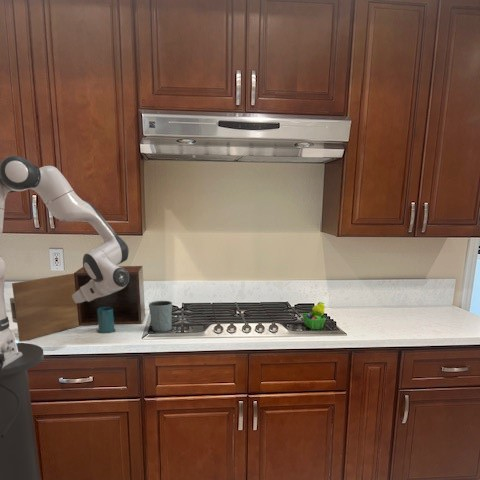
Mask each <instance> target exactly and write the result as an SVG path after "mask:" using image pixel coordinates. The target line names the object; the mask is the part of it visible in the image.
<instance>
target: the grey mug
mask: <svg viewBox="0 0 480 480" xmlns="http://www.w3.org/2000/svg"><path fill="white" fill-rule="evenodd" d="M148 308H149V314H150V322H151V330H152V332H156V333H157V332H158V333H166V332H170V331H171V330H172V329H173V322H172V320H173V314H172V313H173V302H172V301H170V300H155V301H151V302H149V303H148Z"/></svg>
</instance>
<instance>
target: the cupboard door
mask: <svg viewBox="0 0 480 480" xmlns="http://www.w3.org/2000/svg"><path fill="white" fill-rule="evenodd" d="M11 288H12V294H13V297H9V304H10V311H11V319H12V323H14V324H16V325H17V332H18V333H17V334H18V342H19V343H22V342H25V341H29V340H33V339H36V338H40V337H43V336H47V335H51V334H55V333H58V332H61V331H66V330H69V329H72V328H77V327H80V326H79V321H78V310H77V303H75V302H74V300H73V298H72V294H74V293H75V292H76V289H75V278H74V273H68V274H62V275H54V276H49V277H42V278H37V279H29V280H24V281H18V282H12V283H11Z"/></svg>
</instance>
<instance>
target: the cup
mask: <svg viewBox="0 0 480 480" xmlns="http://www.w3.org/2000/svg"><path fill="white" fill-rule="evenodd" d="M97 320H98V325H97V330H98V333H100V334H108V333H109V334H110V333H114V331H115V325H114V314H113V308H111V307H102V308H98V309H97Z"/></svg>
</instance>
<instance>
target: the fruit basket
mask: <svg viewBox="0 0 480 480" xmlns="http://www.w3.org/2000/svg"><path fill="white" fill-rule="evenodd" d="M325 308H326V306H325V302H322V301H319V302H317V304H315V305H314V306H313V307H312V308H311V310H312V312H311V311H310V312H305V313H301V316H302V319H303V320H302V321H303V324H304V326H306V328H308V329H310V330H313V331H314V330H322V329H323V328H324V325H325V322H326V320H327V318H326V317H325V316H323V315H324V313H325Z"/></svg>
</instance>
